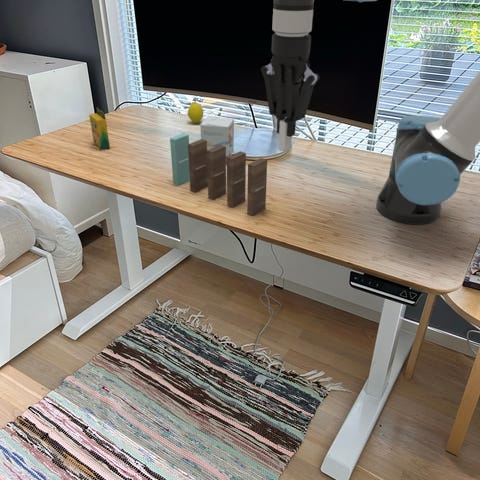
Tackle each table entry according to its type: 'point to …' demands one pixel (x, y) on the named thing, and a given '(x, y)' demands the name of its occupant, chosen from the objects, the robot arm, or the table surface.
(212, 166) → the domino
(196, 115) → the fruit
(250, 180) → the domino
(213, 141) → the ink box
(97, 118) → the crayon box
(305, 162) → the table surface
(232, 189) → the domino
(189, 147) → the domino
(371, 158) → the table surface
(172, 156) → the domino
